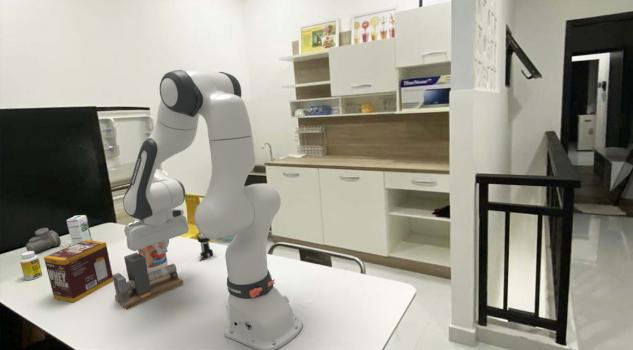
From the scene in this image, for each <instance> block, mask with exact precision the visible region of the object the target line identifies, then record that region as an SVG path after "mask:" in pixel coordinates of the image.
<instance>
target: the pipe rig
mask: <svg viewBox="0 0 633 350" xmlns="http://www.w3.org/2000/svg"><path fill="white" fill-rule="evenodd" d="M112 277H113V281H112V282H113V285H114V290H115V295H114V298H115V300H116V302H117V303H119V304H120V305H121V306H122V307H123V308H124V309H125V310H126V311H127V310H129V309H130V310H131V309H132V308H134V307H137V306H138V305H141V304H143V303H145V302H147V301H149V300H152V299H154V298H157V297H159V296H161V295H163V294H165V293H167V292H169V291H171V290H174V289H176V288H178V287H180V286H183V285H184V281H183V279H181V278H180V277H179V276H178V271H177V265H176V264H175V263H171V264H169V265H168V264H167V266H166V267H163V268H161V269H158V270H156V271H153V272H151V273H148V277H149V282H150V288H151V291H149V292H147V293H145V294H142V295H140V296H138V295H137V294H136V293H134V292H133V291H132V290H133V289H135V288H136V287H135V282H134V280H131V281H129V280H128V281H127V278H126V276H124V275H122V274H121V273H120V272H117V273H114V274H112Z"/></svg>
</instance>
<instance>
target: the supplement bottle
mask: <svg viewBox="0 0 633 350" xmlns="http://www.w3.org/2000/svg"><path fill="white" fill-rule="evenodd" d="M19 263H20V265H21V266H20V267H21V271H22V274H23V277H24V280H25V281H31V280H35V279H37V278H40V277H41V276H42V275H43V271H42V267H41V263H40V258H39V255H36V254H35V253H34V251H26V252H22V253H21V259H20V260H19Z"/></svg>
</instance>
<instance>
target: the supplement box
mask: <svg viewBox="0 0 633 350" xmlns="http://www.w3.org/2000/svg"><path fill="white" fill-rule="evenodd" d="M109 257H110V256H109V252H108V246H107V242H105V241H99V240H98V241H97V240H92V241H91V240H84V241H82V242H80V243H77V244H75V245H73V244H72V245H70V246H68V247H66V248H63V249H60V250H57V251H55V252H53V253H51V254H48V255H46V256H44V257H43V260H44V264H45V268H46V272H47V276H48V279H49V283H50V287H51V291H52V295H53V299H57V300H60V301H65V302H70V303H76V302H78V301H79V300H82V299H83V298H85V297H87V296H89V295H91V294H93V293H94V292H96V291H97V290H99V289H101V288H103V287H105V286H107V285H109V284H110V283H112V282H114V281H113V277H112V275H113V271H112V266H111V261H110V258H109Z"/></svg>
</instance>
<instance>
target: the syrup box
mask: <svg viewBox="0 0 633 350" xmlns="http://www.w3.org/2000/svg"><path fill="white" fill-rule="evenodd" d="M66 224H67V225H66V226H67V229H68V233H69V236H70V239H71V240H70V241H71V244H72V245H75V244H77V243H80V242H82V241H84V240H91V241H93V238H92V234H91V231H90V226H89V222H88V217H87V215H86V214H80V215H74V216H73V217H70V218H68V219H66Z"/></svg>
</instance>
